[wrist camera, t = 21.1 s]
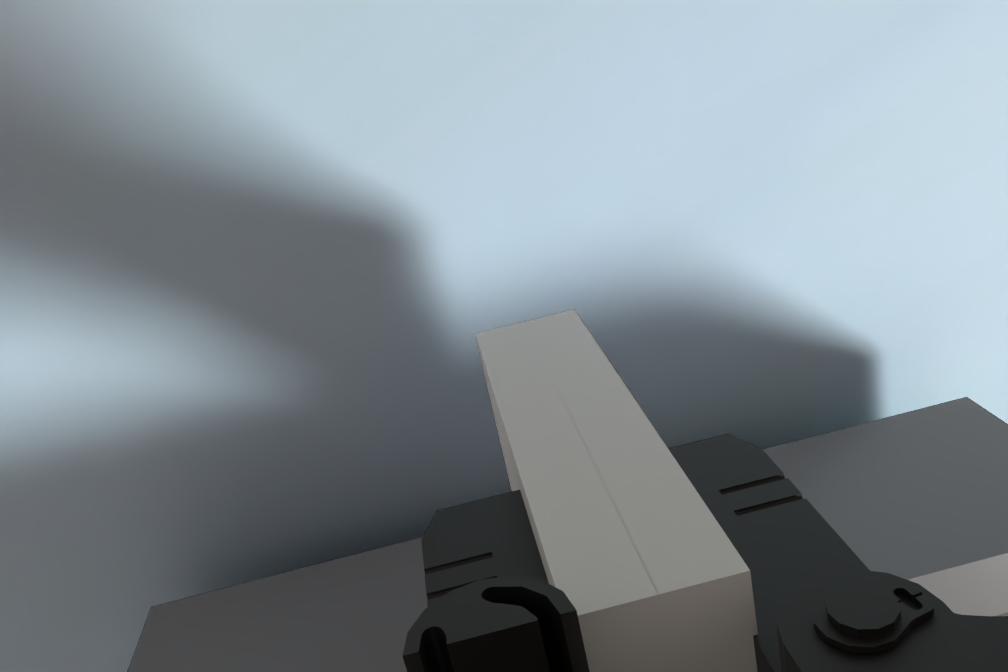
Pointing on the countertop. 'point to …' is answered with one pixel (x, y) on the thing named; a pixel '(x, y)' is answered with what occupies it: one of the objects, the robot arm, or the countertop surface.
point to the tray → (806, 463)
